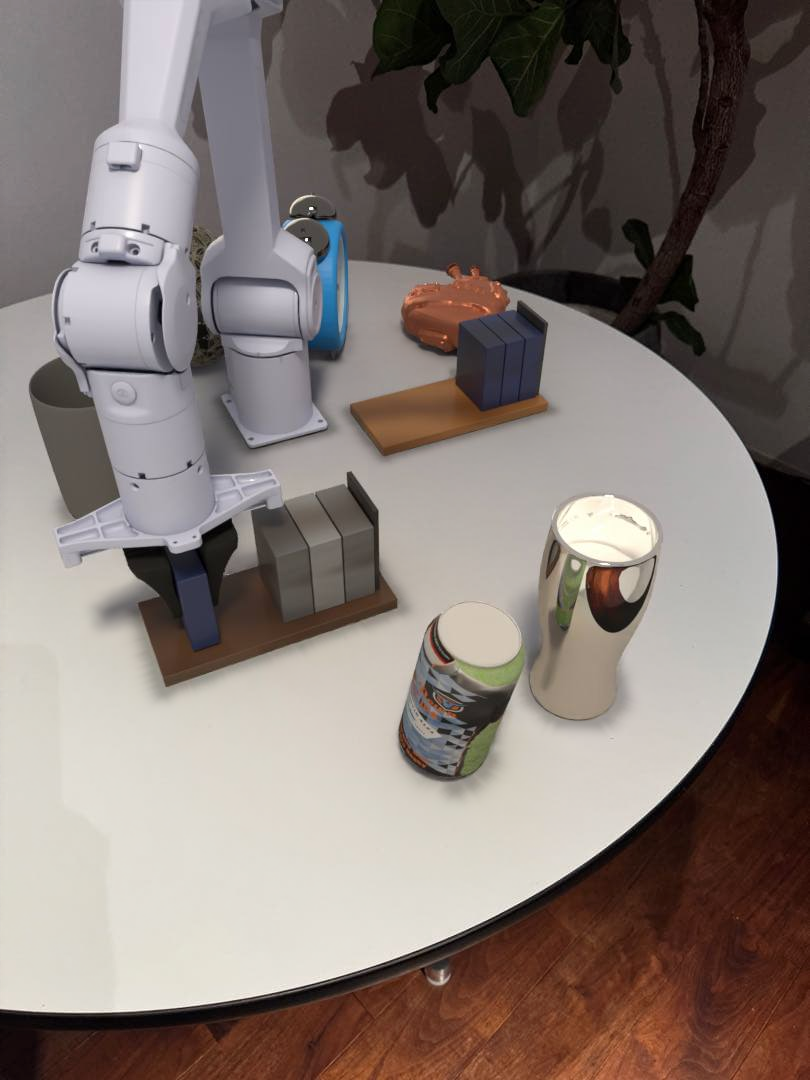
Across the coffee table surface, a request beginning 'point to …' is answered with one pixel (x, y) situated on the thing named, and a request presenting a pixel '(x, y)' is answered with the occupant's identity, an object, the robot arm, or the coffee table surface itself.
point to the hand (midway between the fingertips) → (192, 602)
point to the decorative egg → (206, 341)
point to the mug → (72, 439)
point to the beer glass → (591, 599)
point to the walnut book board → (243, 626)
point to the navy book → (194, 598)
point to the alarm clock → (325, 265)
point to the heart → (451, 306)
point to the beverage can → (461, 688)
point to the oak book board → (430, 415)
